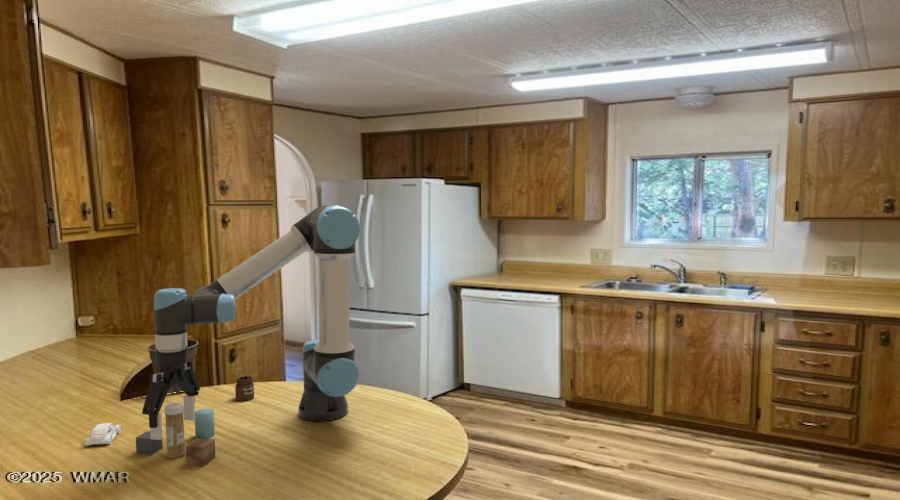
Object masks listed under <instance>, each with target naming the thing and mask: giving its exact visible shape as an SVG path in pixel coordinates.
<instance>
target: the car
mask: <svg viewBox="0 0 900 500" xmlns="http://www.w3.org/2000/svg"><path fill="white" fill-rule="evenodd" d="M122 428H123V426H122V425H121V424H114V423H112V422H103V423H98V424H96V425H95V426H94V428H93V429H92V430H91V433H90V436H88V437H87V438H86V440H85V443H84V446H86V447H90V446H93V445H95V446H96V445H101V446H102V445H107V446H109V445H111V444H112V443H113V441H114V438H115V437H116V436H117V433H118V434H120V433H121V432H122Z"/></svg>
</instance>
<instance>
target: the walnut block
mask: <svg viewBox="0 0 900 500" xmlns="http://www.w3.org/2000/svg"><path fill="white" fill-rule="evenodd" d="M215 440H216V439H215V438H214V439H213V438H208V439H204V438H196V437H195V439H193V440H192V441H191V442H188V443H187V444H186V445H185V452H186V453H185V464H186V465H188V466H196V467H199V466H200V467H205V466H207V465H208V464H209V463H210V462H212V461H213V460H214V459H216V441H215Z"/></svg>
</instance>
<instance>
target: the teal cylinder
mask: <svg viewBox="0 0 900 500" xmlns="http://www.w3.org/2000/svg"><path fill="white" fill-rule="evenodd" d="M194 430H195V431H194V436H195V439H196V438H204V439H212V438H213V437H214V436H215V435H216V433H215V413H214V409H213V408H201V409H197V410H195V420H194Z"/></svg>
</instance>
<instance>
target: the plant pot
mask: <svg viewBox="0 0 900 500" xmlns="http://www.w3.org/2000/svg"><path fill="white" fill-rule="evenodd" d="M187 343H188V345H187V347H185V348H186V349H187V352H188V361H192V367H193V371H194V373H195V374H196V357H197V356H196V355H197V353H198V346H199V341H198V340H195V339H192V338H191V339H189V338H187ZM146 350H147V351H148V353H149V359H150V361H151V366H152V372H153V374H158V373H159V370H160V368H159V366H157V365H156V357H155V352H156V351H157V349H156V348H155V342H154V343H151V344H150V345H148V346H147V347H146ZM162 385H164V384H163V383H162ZM193 386H194V385H193ZM180 391H183V390H182V389H181V387H180V386H179V385H178V383H177V384H175V385H173V386H172V387H171V389H170V390H168V392H167V393H171V394H173V395H176V394H175V393H173V392H176V393H179V394H182V393H181V392H180Z"/></svg>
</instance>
